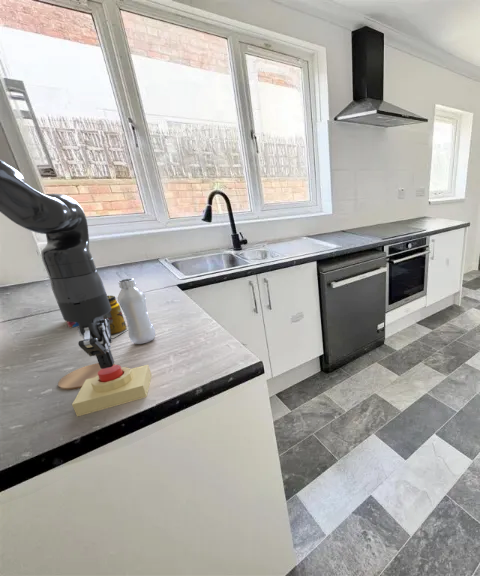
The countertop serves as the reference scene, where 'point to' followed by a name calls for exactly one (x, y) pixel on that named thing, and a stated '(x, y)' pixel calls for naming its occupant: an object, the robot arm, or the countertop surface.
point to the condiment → (115, 318)
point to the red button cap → (110, 373)
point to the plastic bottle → (135, 312)
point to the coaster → (79, 377)
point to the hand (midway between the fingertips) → (108, 366)
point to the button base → (112, 390)
